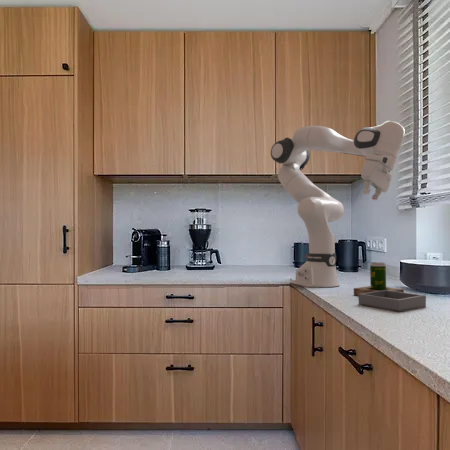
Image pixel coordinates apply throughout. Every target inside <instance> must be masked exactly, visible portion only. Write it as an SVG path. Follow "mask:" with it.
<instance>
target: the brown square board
mask: <svg viewBox="0 0 450 450" xmlns="http://www.w3.org/2000/svg"><path fill="white" fill-rule="evenodd" d="M386 290H389V291H397V292H404V293H405V289H403V288H395V287H390V286H389V287H388V286H386ZM375 291H379V290H372V289H371V285H369V286H362V287H361V286H360V287H355V288H354V287H353V296H356V297H359V294H361V293H368V292H375Z"/></svg>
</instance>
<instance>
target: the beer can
mask: <svg viewBox="0 0 450 450" xmlns="http://www.w3.org/2000/svg"><path fill="white" fill-rule="evenodd" d="M369 266H370V269H369V276H370V279H369V281H370V283H369V284H370V286H371V289H372V290H379V291H381V290H386V287H387V267H386V263H385V262H370V265H369Z"/></svg>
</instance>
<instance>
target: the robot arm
mask: <svg viewBox="0 0 450 450" xmlns="http://www.w3.org/2000/svg"><path fill="white" fill-rule="evenodd" d="M404 136H405V128H404V126H403V125H402V124H400V123H399V122H396V121H393V120H387V121H385V122H383V123H382V124H379V125H376V126H372V127H367V126H366V127H363V128H361V129H360V130H357V132H356V134H355V135H354V137H353V139H351V138H350V139H349V138H347V137H345V136H343V135H341V134H340V133H338V132H337V131H335V130H334V129H332V128H330V127H327V126H323V125H308V126H306V125H305V126H302V127H299V128H297V129H296V130H295V132H294V134H293V135H292V138H290V137H285V138H284V139H282V140H278V141H276V142H275V143H273V144H272V146H271V149H270V157H271V158H272V160H273V161H274V162H276V163H278V164H280V165H281V168H279V170H278V172H277V178H278V181H279V182H280V184H281V185H282V187H283V188H284V189H285V191H286V192H287V193H288V194H289V195H290V197H292V199H294V201H295V202H297V203H298V205H297V214H298V216H299V217H300V219H301V220H302V221H303V223H304V224H305V227H306V230H307V231H306V232H307V236H308V249H309V250H308V254H304V257H305V258H306V260H305V262H304V263H303V264H302V265H301V266H300V267H299V268H298V269H297V270H296V272H295V279H293V280H290V283H291V284H294V285H296V286H297V285H298V286H302V287H309V288H316V287H317V288H331V287H333V288H334V287H338V286H340V283H339V280H338V275H337V274H338V273H337V267H336V263H337V253H336V249H335V248H336V247H335V246H336V245H335V244H336V243H335V240H336V238H335V234H334V233H333V232H332V231H331V229H330V225H329V223H333V222H335V221H338V220H340V219H341V218H342V217H343V215H344V212H345V208H344V205H343V204H342V202H340V200H338V199H336V198H334V197H332V196H331V195H329V194H328V193H327V192H325V191H324V190H323V189H321V188H319V187H318V186H316V185H315V184H314V183H313V182H312V181H311V180H310V179H309V178H308V176H306V175H305V174H304V173H303V172H302V171H303V170H304V168H305V166H307V164H308V162H309V161H310V158H311V157H310V156H311V153H310V151H314V152H327V153H328V152H329V153H340V154H345V155H353V156H359V157H364V158H365V161H364V162H363V165H362V168H361V172H360V175H361V176H360V177H361V179H363V181H364V182H363V189H362V193H364V194H365V195H368V194H369V193H370V191H371V190H370V187H373V188H374V189H375V190H374V191H375V192H374V194H372V197H371V199H372V201H378V199H379V197H380V196H381V195H382V193H387V191H388V190H389V188H390V186H391V185H390V184H391V180H392V174H391V171H393V169H394V167H395V164H396V161H397V158H398V152H399V151H400V149H401V147H402V144H403V141H404Z"/></svg>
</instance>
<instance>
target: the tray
mask: <svg viewBox="0 0 450 450" xmlns="http://www.w3.org/2000/svg"><path fill="white" fill-rule="evenodd" d="M358 305H359V306H363V307H369V308H374V309H380V310H385V311H392V312H394V313H395V312H396V313H402V312H408V311H412V310H418V309H421V308H426V307H427V295H424V294H419V293H412V292H405V291H404V292H397V291H389V290H381V291H375V292H368V293H361V294H359V296H358Z"/></svg>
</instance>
